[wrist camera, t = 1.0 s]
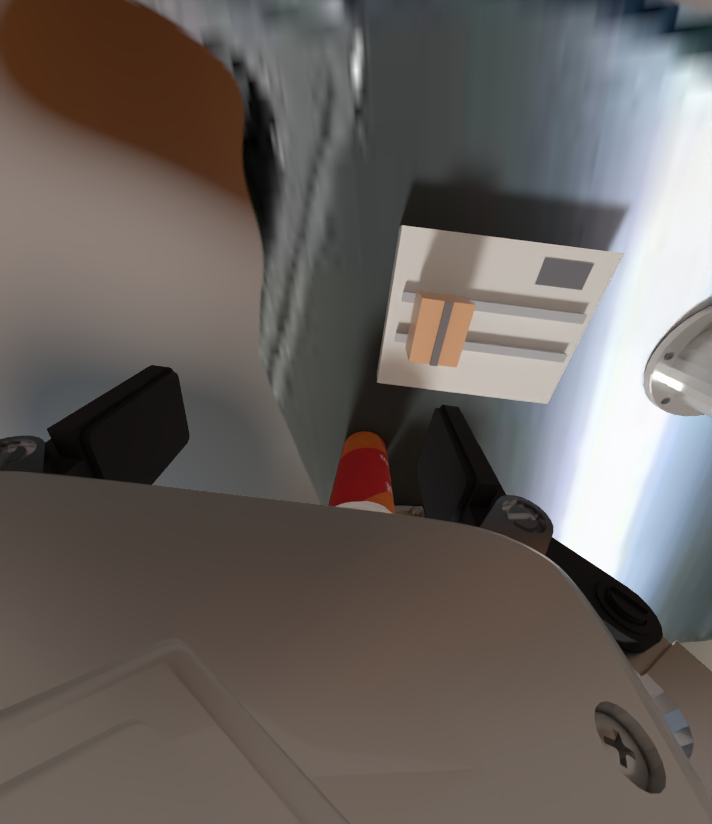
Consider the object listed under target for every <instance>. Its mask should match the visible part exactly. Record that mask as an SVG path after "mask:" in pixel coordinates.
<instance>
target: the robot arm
mask: <svg viewBox="0 0 712 824" xmlns="http://www.w3.org/2000/svg"><path fill="white" fill-rule="evenodd" d="M644 389H645V393H646V395H647V397H648V398H649V400H650V401H651V402H652V403H653V404H654V405H656V406H657V407H659V408H661V409H662V410H664V411H666V412H668V413H671V414H674V415H681V416H699V415H707V416H709V417H710V418H712V305H711V306H709V307H707V308H705V309H703V310H701V311H700V312H698V313H696V314H694V315H693V316H691V317H690V318H688V319H687V320H685V321H684V322H683V323H681V324H680V325H679V326H678V327H677V328H675V329H674V330H673V331H672V332H671V333H670V334H669V335H668V336H667V337H666V338H665V339H664V340H663V341H662V342H661V343H660V345H659V346H658V348H657V349H656V350H655V352H654V353H653V355H652V356H651V358H650V360H649V362H648V364H647V367H646V371H645V374H644ZM47 431H48V433H49V435H50V437H51V439H50V440H49V441H47V442H46V443H45V442H44V440H43V439H41V438H39V437H35V436H15V437H7V438H4V439H0V824H712V672H711V671H710V670H709V669H708V668H707V667H706V666H705V665H704V664H702V663H701V662H700V661H699V660H698V659H697V658H696V657H695V656H693V655H692V654H691V653H690V652H689V651H688V650H686V649H685V648H684V647H683V646H682V645H681V644H680V643H679V642H678V641H675V642H674V643H672V644H671V643H670V642H669V641H668V640H667V639H665V638H664V637H663V633H662V627H661V624H660V622H659V620H658V618H657V616H656V615H655V614H654V612H653V611H652V610H651V608H650V607H649V606H648V605H647V604H646V603H645V602H644V601H643V600H642V599H641V598H640V597H639V596H638V595H637V594H636V593H634V592H633V591H632V590H630V589H629V588H628V587H626V586H625V585H623V584H622V583H620V582H619V581H617V580H616V579H614V578H613V577H611V576H610V575H608V574H607V573H605V572H604V571H602V570H601V569H599V568H598V567H596V566H595V565H593V564H592V563H590V562H589V561H587V560H586V559H584V558H583V557H581V556H580V555H578V554H577V553H575V552H574V551H572V550H570V549H569V548H567V547H566V546H564V545H563V544H561V543H560V542H558V541H557V540H555V539H554V538H552V535H553V524H552V522H551V520H550V518H549V517H548V516H547V514H546V513H545V512H544V511H543V510H542V509H541V508H540V507H538V506H537V505H535V504H534V503H532V502H531V501H529V500H527V499H525V498H522V497H519V496H515V495H506V494H505V492H504V490H503V488H502V486H501V485H500V483H499V481H498V479H497V477H496V475H495V473H494V472H493V470H492V468H491V466H490V464H489V462H488V460H487V459H486V457H485V455H484V453H483V451H482V449H481V447H480V446H479V444H478V442H477V441H476V439H475V437H474V435H473V433H472V431H471V429H470V428H469V426H468V424H467V422H466V420H465V418H464V416H463V414H462V413H461V411H460V409H459V407H455V406H448V405H442V406H441V407H440V408H436V409H435V411H434V414H433V417H432V420H431V423H430V426H429V429H428V432H427V435H426V438H425V441H424V445H423V448H422V451H421V454H420V457H419V460H418V463H417V475H418V480H419V484H420V489H421V494H422V499H423V503H424V508H425V513H426V517H427V518H423V517H417V516H409V515H400V514H392V513H384V512H376V511H368V510H360V509H352V508H344V507H335V506H327V505H318V504H310V503H301V502H292V501H285V500H276V499H268V498H259V497H250V496H242V495H233V494H225V493H216V492H208V491H199V490H191V489H183V488H174V487H166V486H157V485H152V484H153V483H154V482H155V480H156V479H157V478H158V477H159V476H160V475H161V473H162V472H163V471H164V470H165V469H166V467H167V466H168V465H169V464H170V463H171V462H172V461H173V459H174V458H175V457H176V456H177V455H178V453H179V452H180V451H181V450H182V449H183V448H184V446H185V445H186V444H187V442H188V440H189V430H188V425H187V419H186V414H185V409H184V403H183V398H182V393H181V388H180V383H179V378H178V375H177V374H176V373H175V372H174V371H173V370H172V369H171V368H169V367H162V366H154V365H151V366H149V367H147V368H146V369H144V370H143V371H141V372H139V373H138V374H136V375H134V376H133V377H131V378H129V379H128V380H126V381H124V382H123V383H121V384H120V385H118V386H116V387H115V388H113V389H112V390H110V391H108V392H107V393H105V394H103V395H102V396H100V397H98V398H97V399H95V400H93V401H92V402H90V403H88V404H87V405H85V406H84V407H82V408H81V409H79V410H77V411H75V412H74V413H72V414H70V415H69V416H67V417H66V418H64V419H62V420H61V421H59V422H57V423H56V424H54V425H52V426H51V427H49V428H48V429H47Z"/></svg>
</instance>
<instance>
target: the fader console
mask: <svg viewBox="0 0 712 824" xmlns="http://www.w3.org/2000/svg"><path fill="white" fill-rule="evenodd" d="M623 255H624V253H617V252H609V251H602V250H594V249H586V248H578V247H570V246H562V245H554V244H546V243H538V242H530V241H523V240H515V239H507V238H499V237H491V236H483V235H475V234H467V233H459V232H451V231H444V230H436V229H428V228H420V227H412V226H404V225H402V226H400V227H399V234H398V240H397V247H396V253H395V259H394V266H393V272H392V279H391V285H390V291H389V298H388V304H387V311H386V317H385V323H384V330H383V336H382V343H381V349H380V355H379V362H378V368H377V383H383V384H391V385H399V386H407V387H415V388H423V389H431V390H439V391H447V392H455V393H463V394H471V395H479V396H487V397H495V398H503V399H512V400H520V401H528V402H536V403H544V404H548V402H549V400H550V398H551V396H552V394H553V392H554V390H555V388H556V386H557V384H558V382H559V380H560V378H561V376H562V374H563V372H564V370H565V369H566V367H567V365H568V363H569V361H570V359H571V357H572V355H573V353H574V351H575V349H576V347H577V345H578V343H579V341H580V339H581V337H582V335H583V333H584V331H585V329H586V327H587V326H588V324H589V322H590V320H591V318H592V316H593V314H594V312H595V310H596V308H597V306H598V304H599V302H600V300H601V298H602V296H603V294H604V292H605V290H606V288H607V286H608V284H609V282H610V281H611V279H612V277H613V275H614V273H615V271H616V269H617V267H618V265H619V263H620V261H621V259H622V257H623ZM416 291H425V292H433V293H441V294H449V295H457V296H464V297H465V298H467V299H468V300H470V301H471V302H472V303H474V304H475V305H476V306H475V309H474V313H473V316H472V319H471V323H470V326H469V329H468V332H467V336H466V339H465V342H464V345H463V349H462V352H461V355H460V359H459V362H458V365H457V367H449V366H441V365H437V366H430V365H429V364H425V363H417V362H409V360H408V356H407V352H406V348H405V346H406V341H407V336H408V331H409V326H410V321H411V316H412V311H413V306H414V301H415V296H416Z"/></svg>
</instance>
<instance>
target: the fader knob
mask: <svg viewBox="0 0 712 824" xmlns="http://www.w3.org/2000/svg"><path fill="white" fill-rule="evenodd" d="M475 306H476V305H475V304H474V303H472V302H471V301H470V300H468V299H467V298H465V297H464V296H457V295H449V294H441V293H433V292H425V291H416V296H415V301H414V306H413V311H412V316H411V321H410V326H409V331H408V336H407V341H406V346H405V348H406V352H407V356H408V360H409V362H417V363H425V364H429V365H430V366H437V365H441V366H449V367H457V365H458V362H459V359H460V355H461V352H462V349H463V345H464V342H465V339H466V336H467V332H468V329H469V326H470V323H471V319H472V316H473V313H474V309H475Z"/></svg>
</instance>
